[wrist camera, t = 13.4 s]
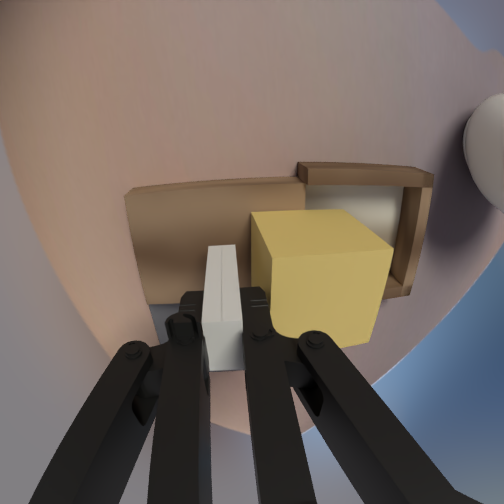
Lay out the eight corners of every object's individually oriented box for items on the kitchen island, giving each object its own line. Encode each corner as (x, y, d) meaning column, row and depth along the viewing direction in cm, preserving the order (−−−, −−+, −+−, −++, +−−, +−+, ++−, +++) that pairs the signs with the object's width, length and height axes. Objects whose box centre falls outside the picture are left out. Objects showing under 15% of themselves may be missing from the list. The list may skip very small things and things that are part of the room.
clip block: (251, 212, 17) (272, 258, 12) (343, 209, 18) (394, 248, 13) (251, 296, 20) (268, 359, 14) (332, 287, 21) (368, 342, 15)
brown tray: (131, 173, 17) (118, 182, 15) (414, 167, 19) (434, 174, 17) (155, 299, 22) (149, 319, 20) (395, 279, 23) (409, 295, 21)
